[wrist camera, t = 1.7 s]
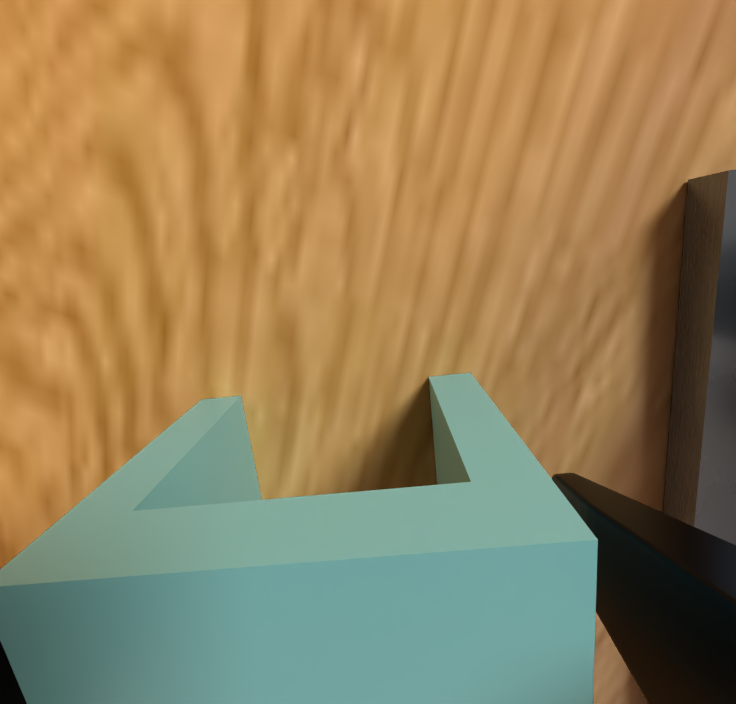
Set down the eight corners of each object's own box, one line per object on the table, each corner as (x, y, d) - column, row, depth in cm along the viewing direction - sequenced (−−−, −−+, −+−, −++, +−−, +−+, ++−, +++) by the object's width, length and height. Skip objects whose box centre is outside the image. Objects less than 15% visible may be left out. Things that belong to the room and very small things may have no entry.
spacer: (201, 399, 10) (-22, 587, 4) (470, 372, 10) (597, 540, 4) (236, 553, 11) (93, 860, 5) (479, 533, 11) (588, 840, 5)
